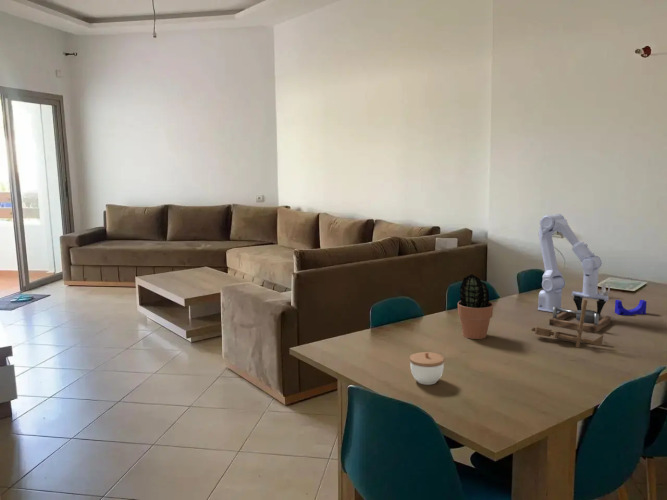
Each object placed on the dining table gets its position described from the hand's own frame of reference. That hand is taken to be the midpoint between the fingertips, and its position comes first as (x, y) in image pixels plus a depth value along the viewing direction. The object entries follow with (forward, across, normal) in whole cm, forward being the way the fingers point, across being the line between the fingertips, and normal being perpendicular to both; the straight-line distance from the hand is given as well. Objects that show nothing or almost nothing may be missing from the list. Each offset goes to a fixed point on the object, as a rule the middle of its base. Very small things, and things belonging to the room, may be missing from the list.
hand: (588, 314), depth 240 cm
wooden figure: (+2, +4, -37) cm, 37 cm away
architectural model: (+2, -2, +40) cm, 40 cm away
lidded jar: (+2, -15, -104) cm, 105 cm away
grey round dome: (+2, 0, -3) cm, 3 cm away
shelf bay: (+2, 0, -10) cm, 10 cm away
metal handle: (+2, 0, -17) cm, 17 cm away
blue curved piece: (+2, +12, +19) cm, 22 cm away
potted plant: (+2, -26, -53) cm, 59 cm away
